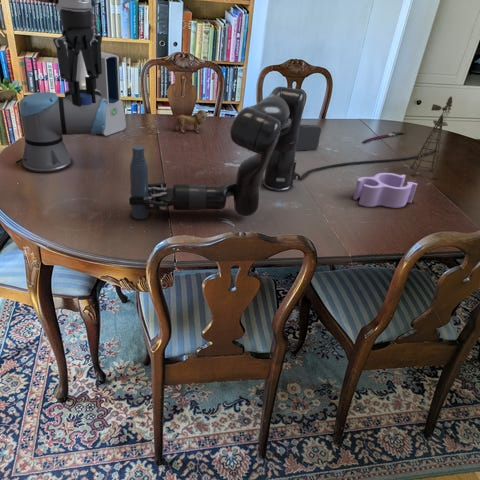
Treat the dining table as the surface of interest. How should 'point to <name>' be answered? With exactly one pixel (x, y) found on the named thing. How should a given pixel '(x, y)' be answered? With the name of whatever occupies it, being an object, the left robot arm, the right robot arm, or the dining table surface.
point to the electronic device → (111, 94)
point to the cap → (86, 99)
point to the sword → (382, 136)
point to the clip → (384, 190)
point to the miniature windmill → (439, 123)
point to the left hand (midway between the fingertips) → (84, 103)
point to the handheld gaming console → (308, 137)
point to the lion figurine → (191, 120)
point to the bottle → (139, 181)
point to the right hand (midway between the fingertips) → (130, 196)
